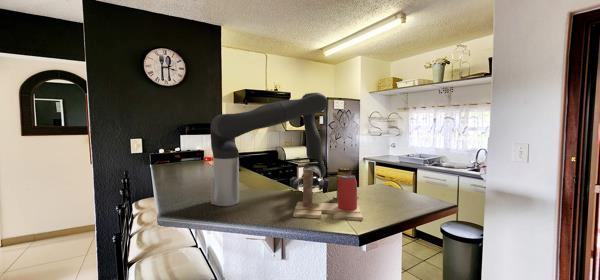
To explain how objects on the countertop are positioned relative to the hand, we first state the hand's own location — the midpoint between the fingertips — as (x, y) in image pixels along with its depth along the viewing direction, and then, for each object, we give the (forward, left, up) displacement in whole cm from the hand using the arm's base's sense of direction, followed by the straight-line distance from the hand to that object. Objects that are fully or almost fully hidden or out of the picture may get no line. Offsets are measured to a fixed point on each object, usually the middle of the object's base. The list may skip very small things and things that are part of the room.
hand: (307, 186), depth 91 cm
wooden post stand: (+7, +1, -8) cm, 11 cm away
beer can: (+14, +1, -8) cm, 16 cm away
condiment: (+14, +17, -8) cm, 24 cm away
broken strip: (+7, -6, -8) cm, 12 cm away
